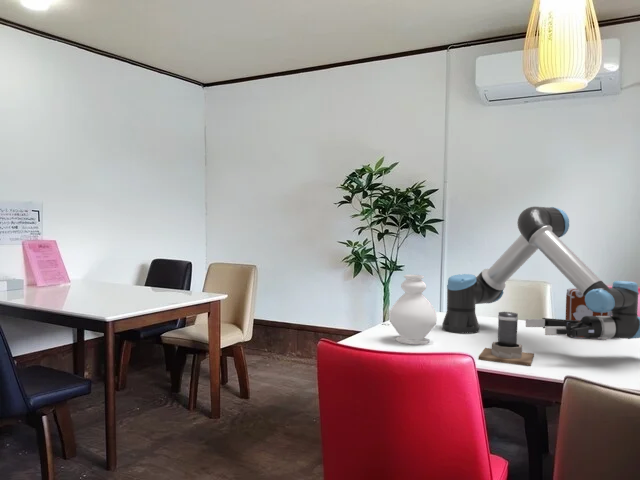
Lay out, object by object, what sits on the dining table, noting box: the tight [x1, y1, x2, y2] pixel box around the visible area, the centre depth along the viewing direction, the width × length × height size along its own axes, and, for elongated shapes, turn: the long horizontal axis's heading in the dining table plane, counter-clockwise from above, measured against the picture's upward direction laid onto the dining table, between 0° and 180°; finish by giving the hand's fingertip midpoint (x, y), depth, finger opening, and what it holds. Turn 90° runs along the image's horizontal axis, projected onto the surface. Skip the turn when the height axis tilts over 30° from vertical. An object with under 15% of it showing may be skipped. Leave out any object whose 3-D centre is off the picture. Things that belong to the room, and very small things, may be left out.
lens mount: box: [477, 341, 535, 367], centre depth 171 cm, size 16×14×4 cm
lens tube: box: [497, 311, 519, 347], centre depth 171 cm, size 6×6×14 cm
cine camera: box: [565, 287, 612, 340], centre depth 206 cm, size 9×19×20 cm, turn 78°
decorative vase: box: [388, 274, 438, 345], centre depth 194 cm, size 18×18×25 cm
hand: (535, 326), depth 171 cm, fingers open, 13 cm apart
